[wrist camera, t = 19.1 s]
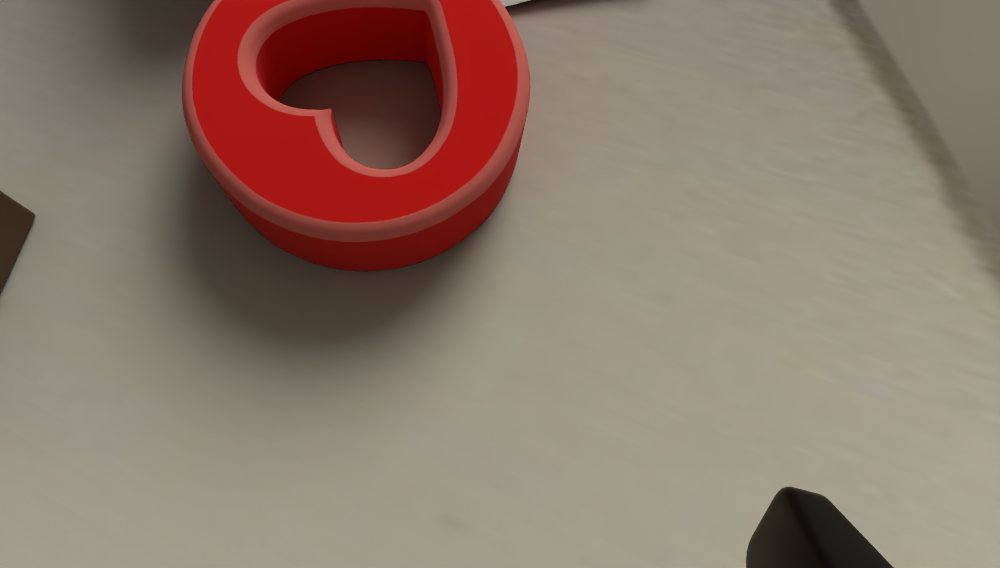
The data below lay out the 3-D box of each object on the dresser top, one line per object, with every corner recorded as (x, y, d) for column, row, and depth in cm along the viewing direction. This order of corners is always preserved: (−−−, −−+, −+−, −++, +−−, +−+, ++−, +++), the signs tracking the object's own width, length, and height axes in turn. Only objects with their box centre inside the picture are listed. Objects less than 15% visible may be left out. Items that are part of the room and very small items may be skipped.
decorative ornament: (550, 38, 25) (566, -25, 22) (474, 307, 22) (480, 278, 19) (274, -38, 25) (250, -112, 22) (164, 222, 22) (120, 179, 19)
